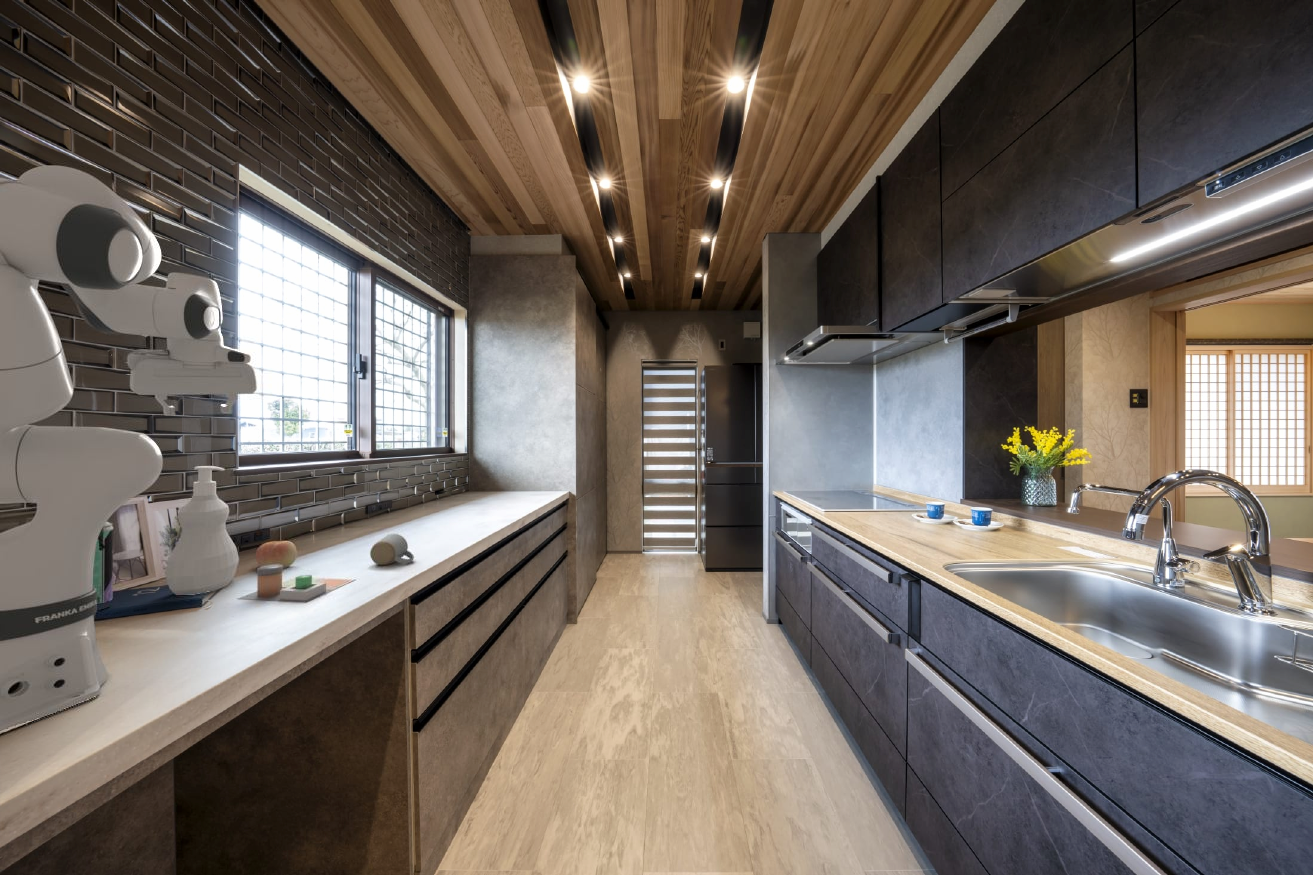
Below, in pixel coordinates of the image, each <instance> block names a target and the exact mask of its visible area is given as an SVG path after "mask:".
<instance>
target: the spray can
mask: <svg viewBox="0 0 1313 875" xmlns="http://www.w3.org/2000/svg"><path fill="white" fill-rule="evenodd" d="M113 556H114V526H113V522H109V521H106V523H105V524H104V526H103V528H102V530H101V532H100V534H99V536H98V539H97V543H96V548H95V555H94V564H93V587H94V588H96V589H97V604H100V603H105V602H107V601H111V600H112V599H113V596H114V595H113V593H114V592H113V590H114V588H113V585H114V584H113V581H114V577H113V574H114V567H113V566H114V557H113Z"/></svg>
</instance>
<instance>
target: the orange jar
mask: <svg viewBox="0 0 1313 875" xmlns="http://www.w3.org/2000/svg"><path fill="white" fill-rule="evenodd" d="M283 571H284V568H283V565H266V566H262V567H260V566H259V567H258V568H256V575H257V582H256V583H257V586H256V588H257V589H256V590H257V596H258V597H269V596H274V595H278V594H280V590H282V582H283Z"/></svg>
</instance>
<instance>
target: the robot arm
mask: <svg viewBox="0 0 1313 875" xmlns="http://www.w3.org/2000/svg"><path fill="white" fill-rule="evenodd" d="M161 260H162V251H161V247H160V244H159V242H158V241H157V238H156V236H155V235H154V233H153V231H151V229H150V228H149V227H148V226H147V225H146V223H145V222H144V221H143V219H142V218H141V217H140V216H139V215H138V213H136V212H135V210H133V208H132V207H131V206H130V205H129V204H128V203H127V202H126V201H125V200H123V198H121V196H119V195H118V194H117V193H115V191H114V190H112V189H111V188H110V187H109V186H107V185H106V184H105V183H104V182H102V181H101V180H99V179H98V178H96V177H95V176H93V175H91V174H90V173H88V172H85V171H82V170H80V169H76V168H75V167H74V168H73V167H68V166H62V165H41V166H37V167H34V168H31V169H28V170H27V171H24V173H22V174H21V175H20V176H19V177H18V178H17V180H12V179H10V178H5V177H1V176H0V505H1V504H2V505H3V504H6V505H7V504H21V503H22V504H23V503H24V504H25V503H26V504H27V503H31V504H36V512H35V515H34V517H33V518H32V520H31V521H29V522H26V523H24V524H21V525H18V526H15V527H13V528H9V529H7V530H5V531H2V532H0V731H2V730H4V729H8V728H9V727H12V726H16V725H18V724H22V723H26V722H27V721H32V720H35V719H37V718H41V717H44V716H46V715H49V714H52V715H54V714H53V713H55V714H57V713H58V712H57V711H60V710H62V711H64V710H63V709H64V708H67V707H70V708H72V707H71V706H72V705H75V704H77V703H79V702H82V701H86V700H87V699H90V698H93V697H94V696H97V695H99V694H100V695H101V687H102V685H104V683H105V682H106V681H107V680H108V678H109V672H108V671H107V669H106V667H105V665H104V663H103V659H102V657H101V654H100V650H99V646H98V641H97V635H96V628H95V617H96V613H97V612H98V611H97V589H96V588H94V587H93V564H94V555H95V548H96V543H97V539H98V536H99V534H100V532H101V530H102V528H103V526H104V524H105V523H106V522H108V520H109V519H110V518H111V517H112V516H113V514H114V513H115V512H116V511H117V510H118V509H120V507H121V506H123V505H124V504H125V503H128V501H130V500H131V499H133V498H135V497H136V496H138V495H140V494H142V493H143V492H145V491H146V490H149V488H150V487H152V485H153V484H154V483H155V482H156V481H157V480H158V478H160V475H161V473H162V470H163V465H164V463H163V462H164V461H163V455H162V451H161V449H160V448H159V446H158V445H157V443H156V442H155V441H154V440H153V439H152V438H151V437H150V436H148V435H147V434H146V433H143V432H136V431H130V430H126V429H125V430H124V429H119V428H118V429H117V428H109V427H103V426H63V425H62V426H60V425H57V426H56V425H55V426H54V425H48V426H47V425H42V426H41V425H35V424H34V423H36V422H39V421H43V420H45V419H47V418H49V417H51V416H52V415H54V414H56V413H57V412H58V413H59V412H60V411H61V410H62V409H64V408H65V407H66V406H67V405H68V404H69V403H70V402H71V400H72V397H73V396H74V395H73V394H74V390H75V389H74V384H73V381H72V377H71V374H70V369H69V365H68V363H67V358H66V355H65V352H64V348H63V347H64V346H63V344H62V342H61V338H60V335H59V332H58V329H57V327H56V325H55V321H54V319H53V317H52V315H51V313H50V310H49V309H48V307H47V305H46V302H45V301H44V300H43V298H42V296H41V294H40V293H39V291H38V288H39V287H38V286H39V282H40V280H41V281H47V282H53V283H59V284H60V285H61V287H62V288H63V289H64V290H65V292H66V293H67V294H68V295H69V297H70V298H71V299H72V301H73V302H74V303H75V305H76V308H77V310H78V313H79V315H80V316H81V318H82V319H83V320H84V322H86V324H88V325H89V326H91V327H92V328H93V329H95V330H96V331H98V332H100V333H102V334H111V335H112V334H114V335H138V336H146V337H158V338H164V339H165V338H166V345H167V346H166V347H167V348H166V349H144V348H139V349H136V350H133V351H131V352H130V353H128V354H127V357H126V361H127V362H126V363H127V367H128V368H129V369H130V370H131V371H130V376H129V387H130V390H131V391H133V393H135V394H137V395H139V396H153V395H154V398H155V400H156V401H157V402H158V403H159V404H160V405H161V406H162V408H163V409H162V410H163V415H164V416H175V415H176V407H175V406H173V405H168V403H166V400H168V395H171V396H172V395H173V396H174V395H177V396H178V395H180V396H181V395H182V396H183V395H226V397H227V398H228V399H227V401H226V402H225V404H220V413H222V414H232V406H234V404H235V403H236V401H237V399H238V395H251V394H254V393H255V392H256V391H257V389H258V388H257V386H258V385H257V384H258V382H257V376H256V372H255V368H254V366H252V365H251V364H249V363H250V362H251V358H252V357H251V355H250V354H249V353H247V352H244V351H242V350H239V349H235V348H234V347H231V346H226V345H224V338H223V334H222V333H221V332H222V331H221V326H222V323H223V308H222V306H223V305H222V299H221V294H220V290H219V286H218V283H217V282H216V281H215V280H213V279H211V278H210V277H207V276H204V275H200V274H196V273H195V274H194V273H190V272H182V271H178V272H177V271H176V272H175V271H174V272H170V273H169V274H168V275H167V278H166V286H165V287H158V286H152V285H144V284H138V283H141V282H143V281H145V280H147V279H149V277H151V276H152V275H153V274H155V272H156V271H157V270H158V268H159V266H160V264H161ZM100 695H99V696H100ZM97 697H98V696H97ZM93 699H94V698H93ZM86 702H87V701H86ZM75 706H76V705H75ZM56 712H57V713H56ZM60 712H61V711H60ZM44 718H45V717H44Z"/></svg>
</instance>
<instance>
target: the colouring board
mask: <svg viewBox="0 0 1313 875" xmlns="http://www.w3.org/2000/svg"><path fill="white" fill-rule="evenodd" d="M296 577H297V576H294V577H291V578H288V579H286V580H282V590H280V594H278V595H274V596H269V597H258V596H257V591H254V592H251V593H248V594H246V595H244V596H241V597H238V598H237V600H244V601H245V600H247V601H264V602H265V601H268V602H269V601H270V602H282V603H283V602H289V603H303V604H305V603H309V602H311V601H314V600H317V599H318V598H320V597H322V596H324V595H327V594H329V593H331V592H333V591H335V590H337V589H339V588H342V587H344V586H346V585H348V584H351V583H353V582H355V581H356V579H355V578H354V579H352V578H351V579H349V578H332V577H331V578H329V577H325V578H324V577H313V576H312V587H310V588H307V589H295V581H296Z"/></svg>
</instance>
